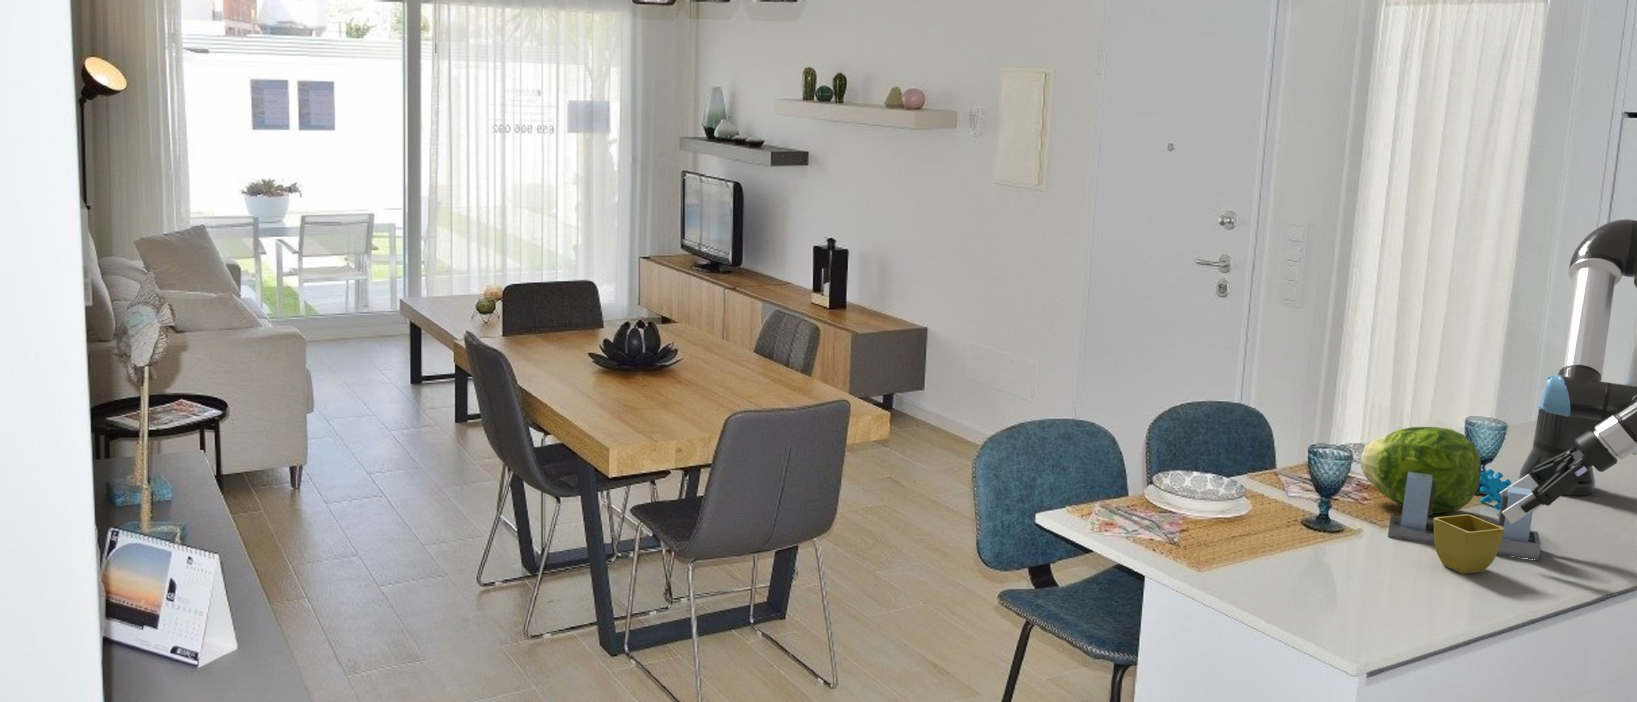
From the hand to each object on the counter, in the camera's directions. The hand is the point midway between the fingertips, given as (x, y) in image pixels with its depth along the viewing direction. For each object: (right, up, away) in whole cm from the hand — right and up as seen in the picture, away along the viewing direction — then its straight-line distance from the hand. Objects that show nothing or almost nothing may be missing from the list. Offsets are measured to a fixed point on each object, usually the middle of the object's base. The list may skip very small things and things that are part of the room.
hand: (1505, 508), depth 270 cm
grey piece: (-6, -7, +4) cm, 11 cm away
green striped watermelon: (-7, -3, +24) cm, 26 cm away
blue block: (+2, -6, 0) cm, 7 cm away
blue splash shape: (+12, -3, +28) cm, 31 cm away
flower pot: (-13, -10, -10) cm, 20 cm away
